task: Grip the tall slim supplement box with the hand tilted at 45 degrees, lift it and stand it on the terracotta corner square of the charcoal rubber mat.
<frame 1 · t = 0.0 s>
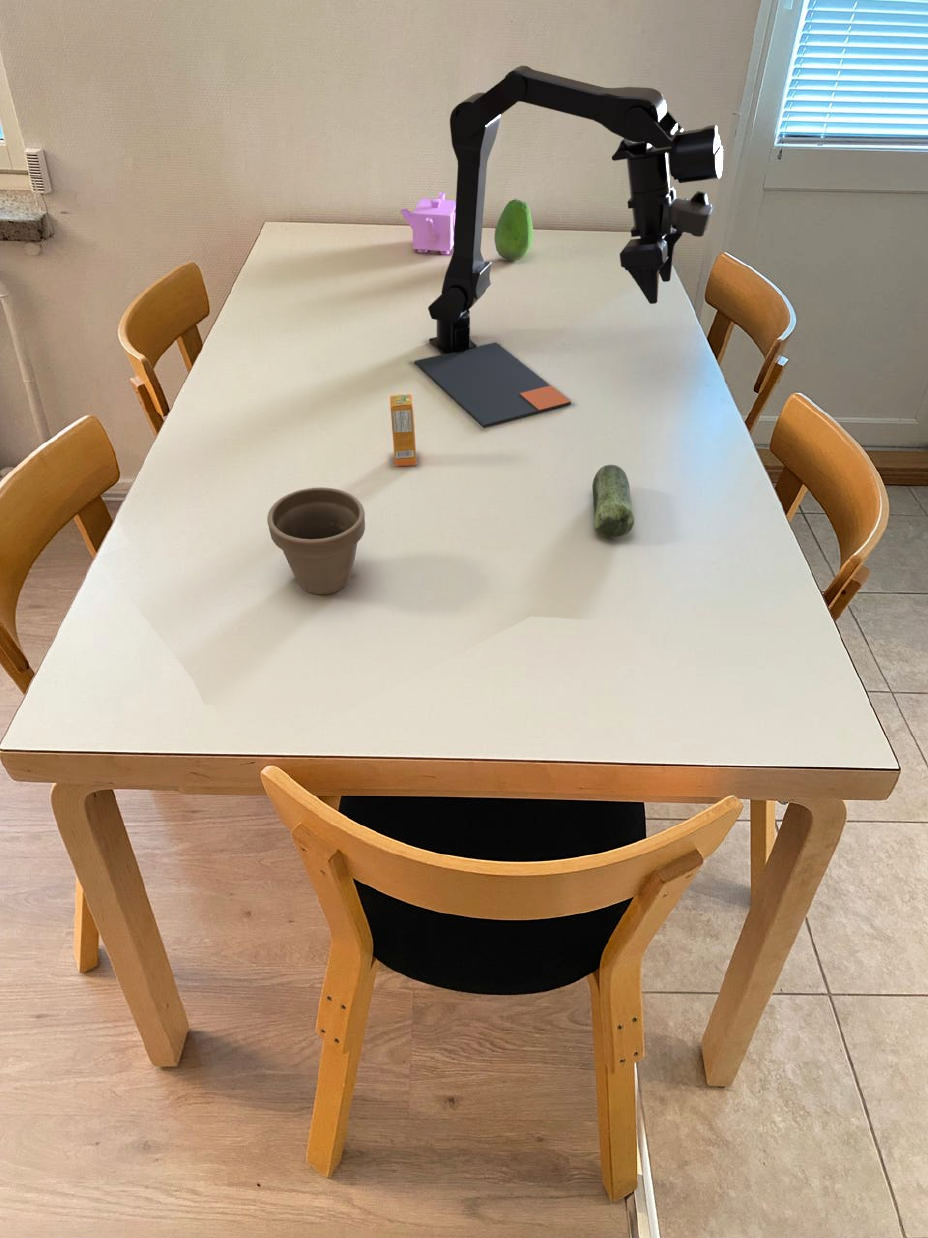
hand: (660, 291, 150), 15 cm above the table, tool pointing down, fingers open, 9 cm apart
flower pot: (322, 580, 120), on the table
mat: (490, 383, 159), on the table
supplement box: (404, 462, 141), on the table
vegetable: (609, 515, 132), on the table
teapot: (432, 248, 204), on the table
avocado: (512, 259, 200), on the table
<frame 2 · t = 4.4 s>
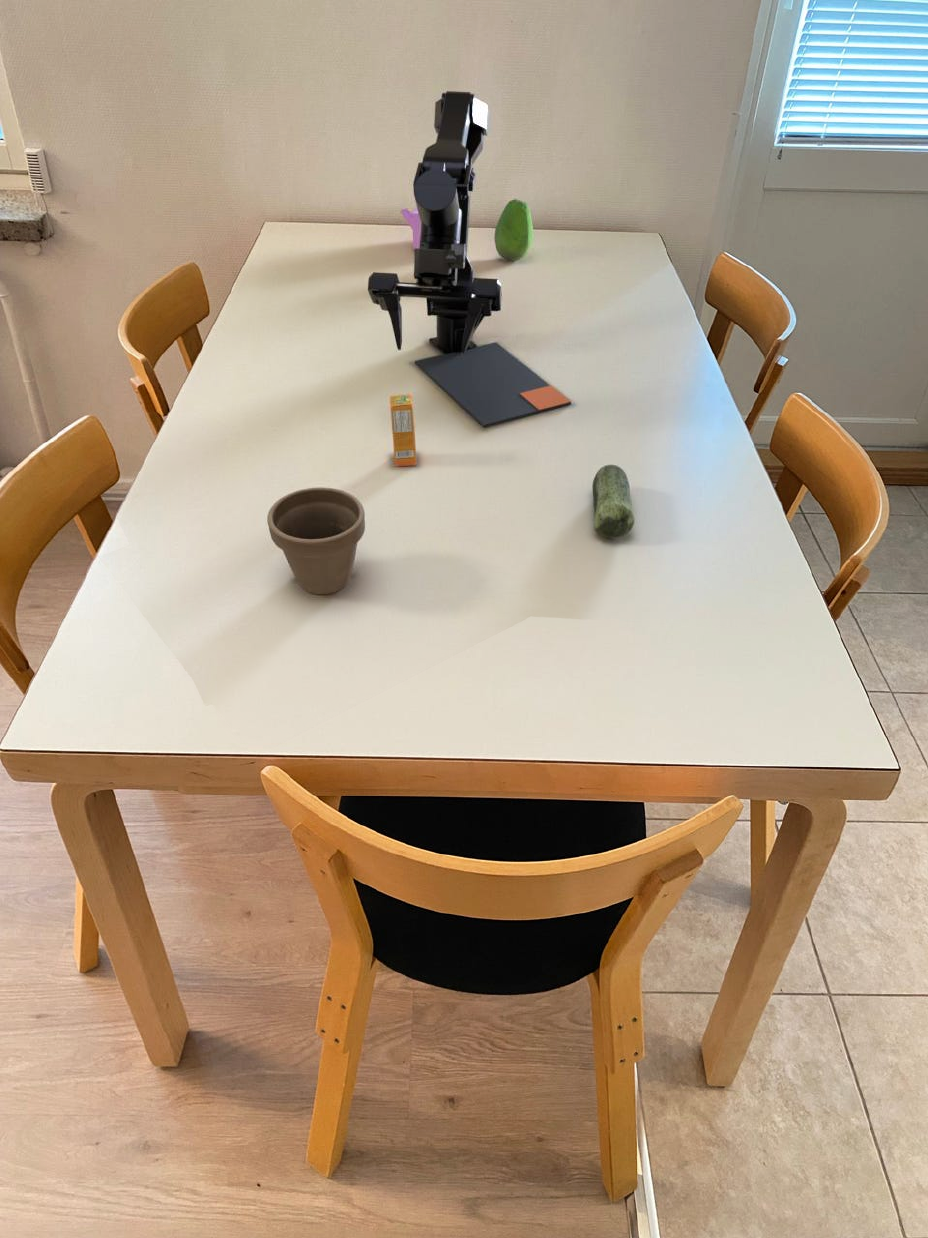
hand: (430, 351, 138), 14 cm above the table, tool tilted 45°, fingers open, 9 cm apart
nothing on the table moved.
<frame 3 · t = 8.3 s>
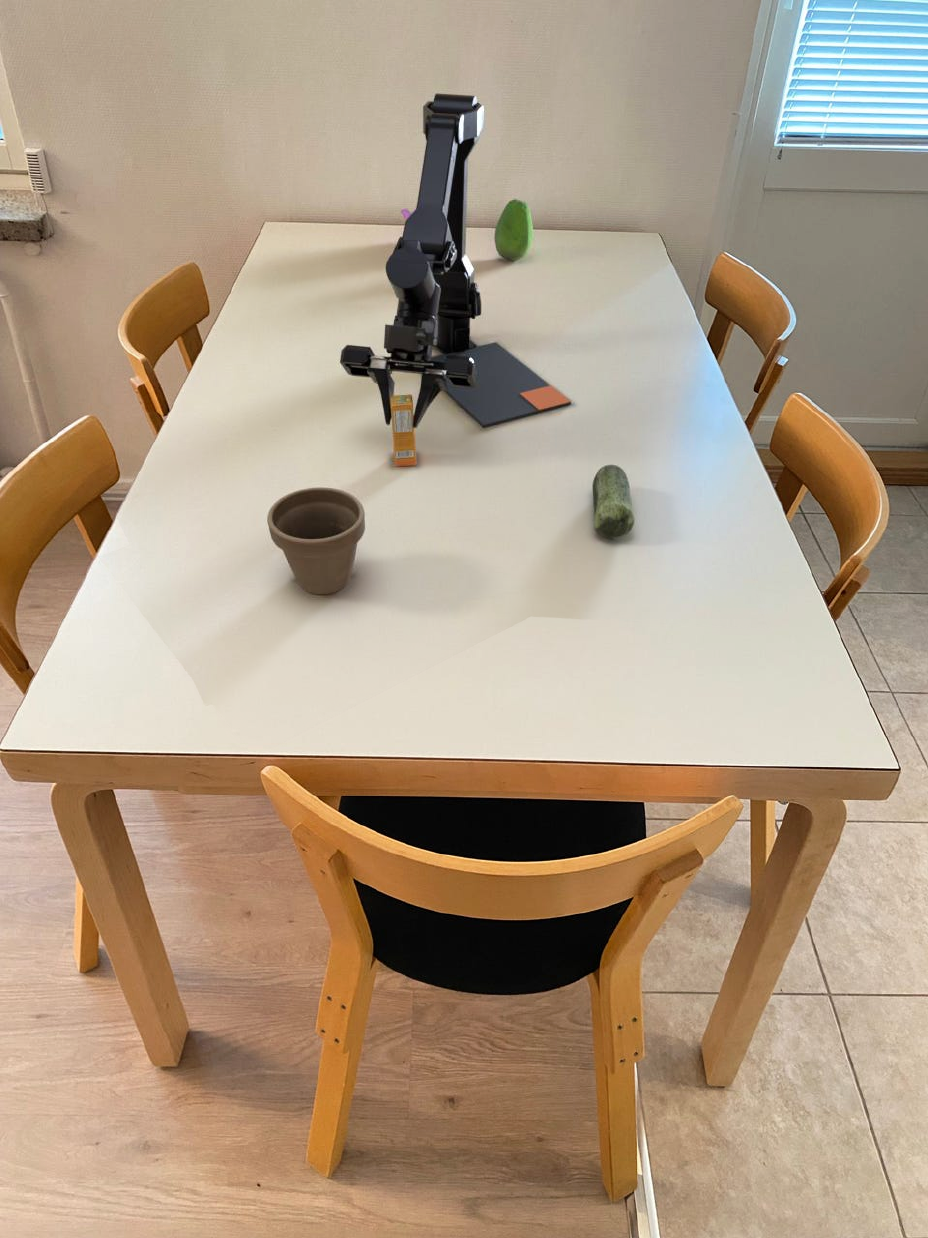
hand: (400, 425, 136), 7 cm above the table, tool tilted 45°, fingers closed on supplement box, 3 cm apart
supplement box: (404, 462, 141), on the table, touching gripper
everything else where it was.
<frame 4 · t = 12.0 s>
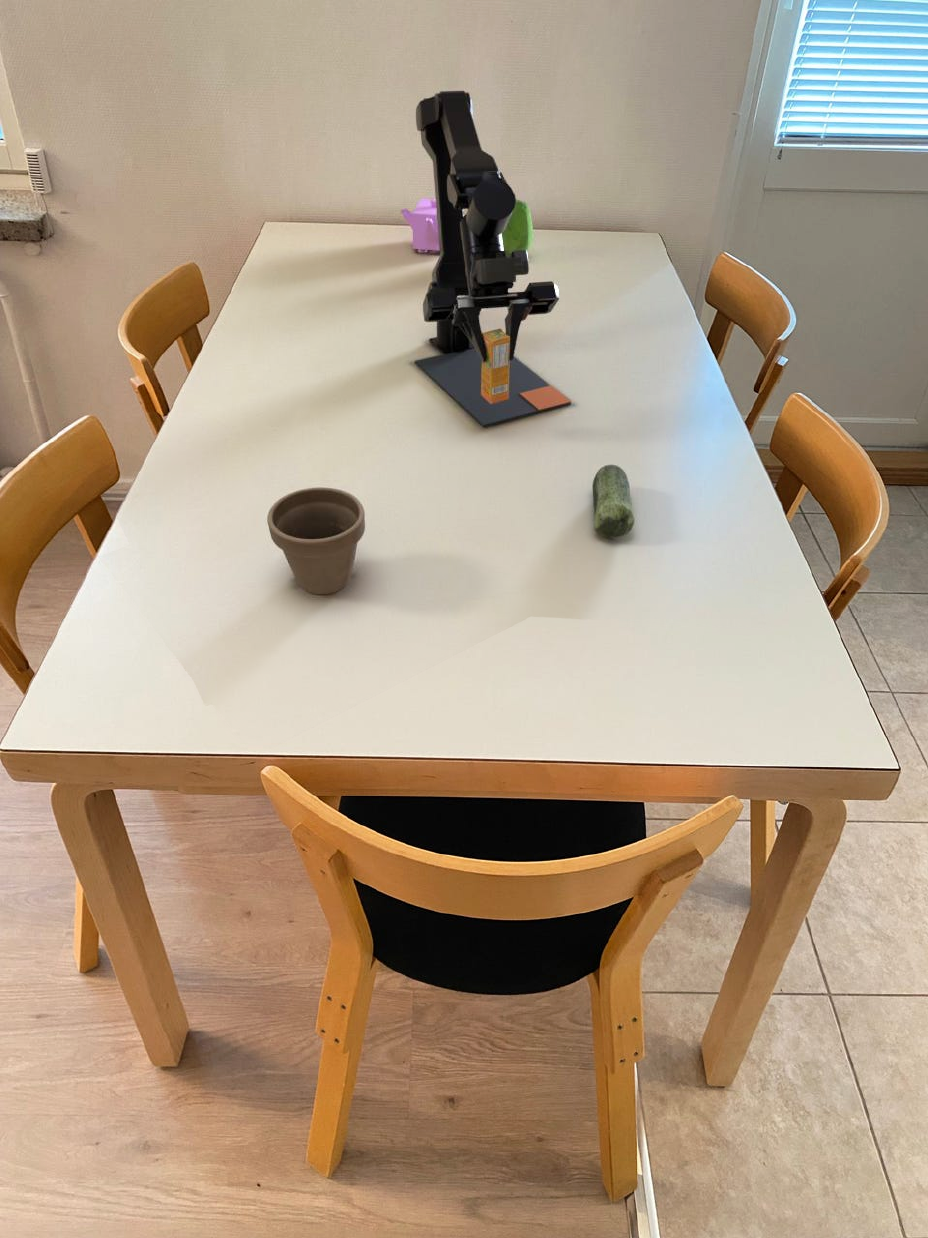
hand: (497, 360, 137), 13 cm above the table, tool tilted 45°, fingers closed on supplement box, 3 cm apart
supplement box: (493, 398, 142), point 6 cm above the table, touching gripper
everything else where it was.
when the fingers open (7 cm above the table, at t = 16.0 s): supplement box stays where it is, resting on mat.
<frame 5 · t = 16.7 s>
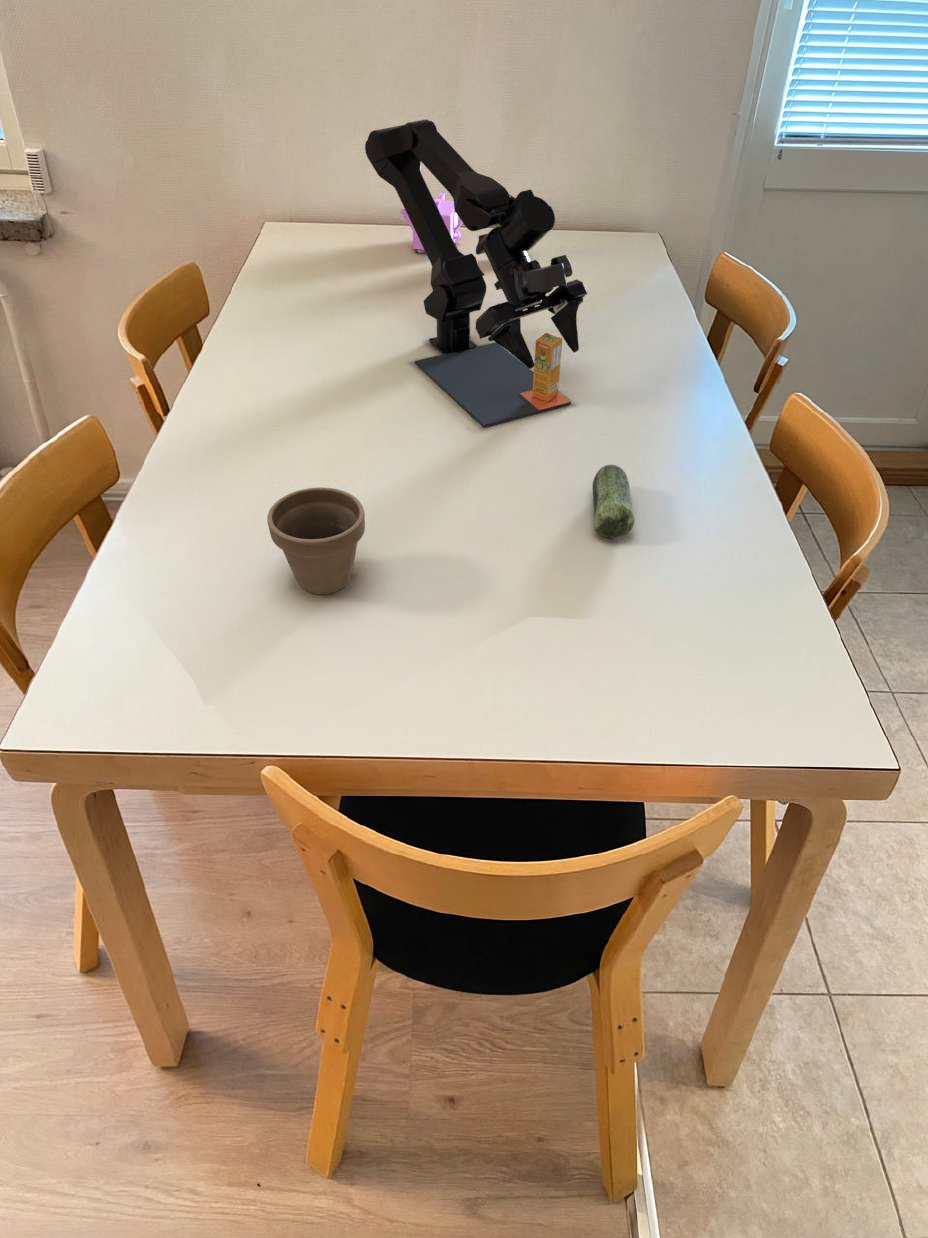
hand: (554, 359, 149), 8 cm above the table, tool tilted 45°, fingers open, 9 cm apart
supplement box: (544, 397, 155), resting on mat
everything else where it was.
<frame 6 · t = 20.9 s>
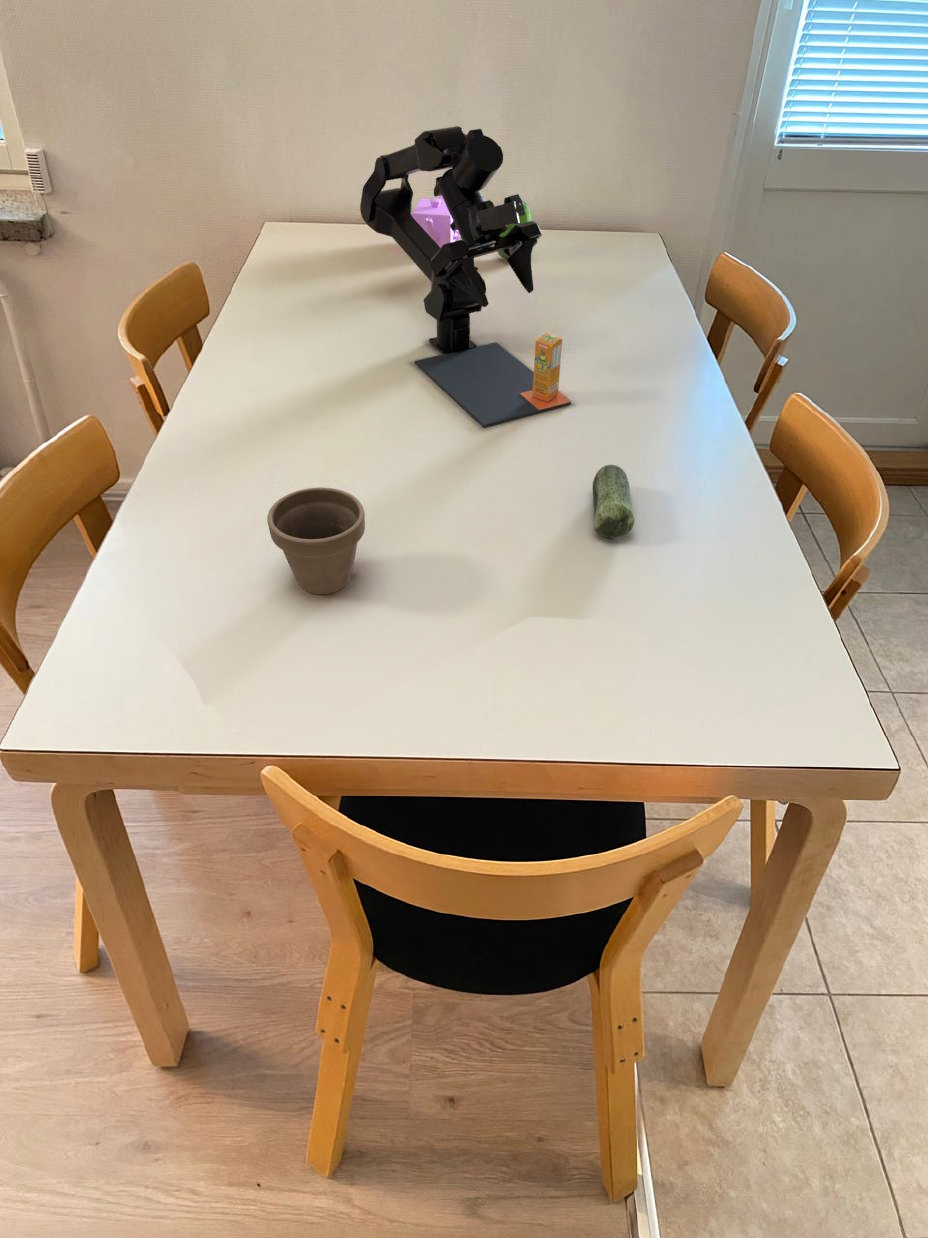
hand: (509, 298, 152), 14 cm above the table, tool tilted 45°, fingers open, 9 cm apart
nothing on the table moved.
at the end: supplement box 0.2 cm from the target spot on the mat, point 0.4 cm above the mat's base; supplement box tilted 0°; the gripper is holding nothing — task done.
